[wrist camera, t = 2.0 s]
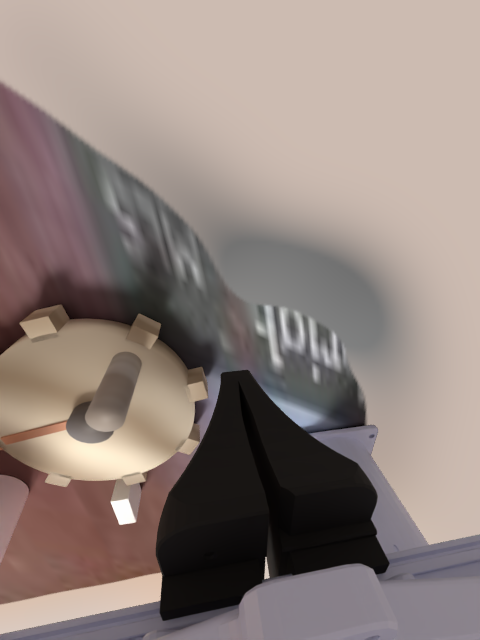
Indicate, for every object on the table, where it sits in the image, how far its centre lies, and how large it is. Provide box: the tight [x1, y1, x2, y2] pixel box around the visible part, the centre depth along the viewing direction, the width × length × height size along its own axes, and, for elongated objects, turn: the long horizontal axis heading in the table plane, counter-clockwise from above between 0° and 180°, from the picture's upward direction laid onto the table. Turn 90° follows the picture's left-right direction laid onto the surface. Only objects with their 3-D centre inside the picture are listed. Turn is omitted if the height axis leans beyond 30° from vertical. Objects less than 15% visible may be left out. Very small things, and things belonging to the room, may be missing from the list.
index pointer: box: [111, 478, 142, 525], centre depth 21 cm, size 3×1×2 cm, turn 1°
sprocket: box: [0, 305, 208, 487], centre depth 15 cm, size 14×14×6 cm
